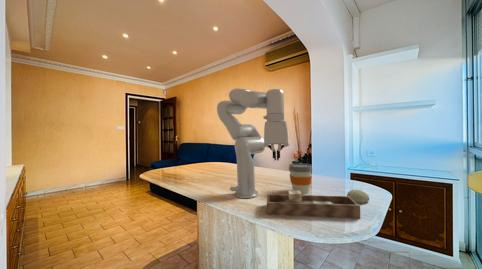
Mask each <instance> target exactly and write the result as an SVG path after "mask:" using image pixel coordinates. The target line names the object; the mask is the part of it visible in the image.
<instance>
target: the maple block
mask: <svg viewBox="0 0 482 269" xmlns="http://www.w3.org/2000/svg"><path fill="white" fill-rule="evenodd" d="M288 195H289V203H302V195H303V194H301V192H300V191H297V190H293V189H291V190H289V189H288Z"/></svg>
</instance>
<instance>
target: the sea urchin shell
mask: <svg viewBox="0 0 482 269" xmlns="http://www.w3.org/2000/svg"><path fill="white" fill-rule="evenodd" d="M346 196H350V197H351V198H352V199H353V200H354V201H355V202H356V203H358V204H363V203H368V202H369V201H370V196H369V194H367V193H366V192H365V191H363V190H360V189H351V190H349V191H348V192H347V194H346Z"/></svg>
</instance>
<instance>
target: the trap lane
mask: <svg viewBox="0 0 482 269" xmlns="http://www.w3.org/2000/svg"><path fill="white" fill-rule="evenodd" d="M266 215H267V216H268V215H271V216H289V217H290V216H292V217H313V218H315V217H316V218H318V217H319V218H337V219H339V218H340V219H361V205H360V203H357V202H355V201H354V200H353V199H352V198H351V197H350V196H347V195H317V194H316V195H312V194H310V195H309V194H302V203H289V194H270V193H269V194H268V193H267V197H266Z"/></svg>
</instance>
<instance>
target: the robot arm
mask: <svg viewBox="0 0 482 269" xmlns="http://www.w3.org/2000/svg"><path fill="white" fill-rule="evenodd" d="M284 94H285V92H284V91H283V90H282V89H279V88H272V89H271V88H270V89H269V90H267V91H266V92H265V91H252V90H251V89H246V88H238V87H237V88H233V89H231V90H230V91H229V93H228V97H229V100H222V101H219V102H218V103H217V106H216V113H217V116H218V118H219V120H220V122H222V124H223V125H224V126H225V128H226V130H227V132H228V134H229V135H230V137H231V139H232V140H233V141H235V142H234V150H235V155H236V171H237V172H236V174H237V177H236V178H237V182H236V183H237V185H236V186H230V187H229V190H230V191H231V192H234V196H235V197H237V198H239V199H252V198H255V197H257V196H258V195H259V192H258V190H256V182H255V181H256V180H255V179H256V178H255V177H256V175H255V174H256V172H255V161H254V159H253V158H252V155H255V154H262V153H264V151H265V149H266V148H268V149H270V150H271V152H272V159H274V161H280V160H279V159H281V151H282V150H283V148H286V147H289V146H290V144H289V133H288V123H287V120H285V102H284V101H285V100H284V99H285V97H284V96H285V95H284ZM248 108H250V109H265V110H266V115H263V116H262V117H263V120H266V121H265V122H264V126H263V129H264V130H263V131H264V132H263V133H264V134H263V137H262V135H261V134H260V132H259V131H258V130H257V128H256V127H255V126H254V125H252V124H250V123H249V124H247V123H246V124H242V123H240V121H239V119H238V118H237V117H236V116H234V115H242V114H244V113H245V112H246V110H247V109H248ZM275 145H277V149H275Z"/></svg>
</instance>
